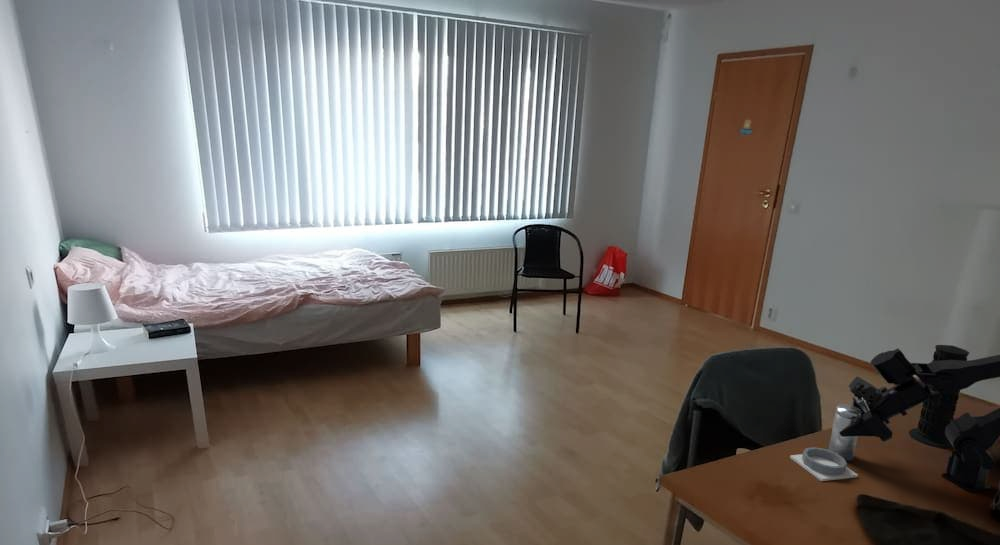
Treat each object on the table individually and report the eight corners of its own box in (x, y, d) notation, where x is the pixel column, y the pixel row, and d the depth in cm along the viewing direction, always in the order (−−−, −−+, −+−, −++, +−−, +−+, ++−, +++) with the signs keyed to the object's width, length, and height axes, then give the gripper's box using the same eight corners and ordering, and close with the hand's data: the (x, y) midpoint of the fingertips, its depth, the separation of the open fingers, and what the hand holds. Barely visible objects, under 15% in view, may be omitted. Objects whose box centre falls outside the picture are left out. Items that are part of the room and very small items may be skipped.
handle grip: (920, 445, 143) (964, 451, 141) (942, 350, 137) (987, 354, 135) (901, 427, 153) (941, 432, 151) (920, 337, 147) (963, 341, 145)
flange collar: (857, 477, 128) (859, 467, 127) (821, 481, 125) (823, 471, 125) (824, 454, 137) (825, 444, 137) (789, 457, 135) (791, 448, 134)
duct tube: (859, 460, 135) (868, 413, 132) (840, 461, 134) (849, 415, 131) (840, 448, 140) (849, 403, 138) (822, 450, 139) (831, 404, 136)
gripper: (869, 358, 139) (812, 389, 146) (885, 385, 122) (820, 419, 129) (900, 393, 137) (842, 423, 144) (920, 425, 121) (853, 457, 127)
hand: (838, 429), depth 136 cm, fingers closed on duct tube, 5 cm apart
